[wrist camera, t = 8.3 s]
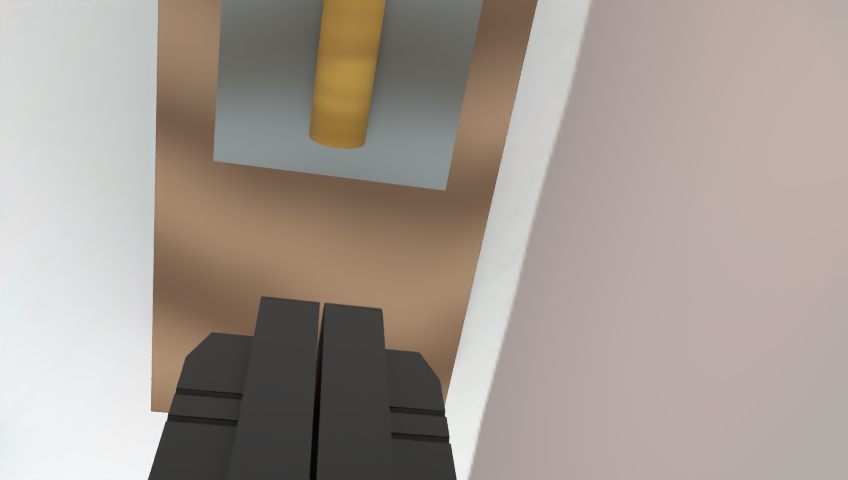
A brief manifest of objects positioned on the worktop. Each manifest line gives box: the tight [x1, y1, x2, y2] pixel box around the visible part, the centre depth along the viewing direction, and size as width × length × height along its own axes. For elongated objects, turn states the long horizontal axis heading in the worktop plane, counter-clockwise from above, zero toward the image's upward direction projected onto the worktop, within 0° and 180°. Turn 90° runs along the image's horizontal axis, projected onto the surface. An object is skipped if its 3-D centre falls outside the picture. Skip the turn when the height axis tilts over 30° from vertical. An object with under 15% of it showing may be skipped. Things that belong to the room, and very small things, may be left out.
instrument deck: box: [151, 0, 538, 413], centre depth 26 cm, size 24×12×8 cm, turn 170°
